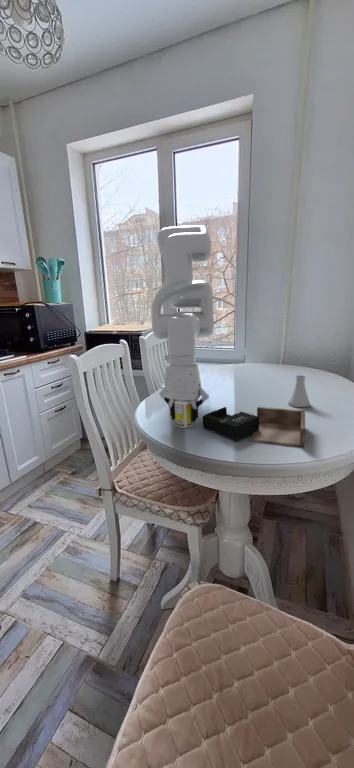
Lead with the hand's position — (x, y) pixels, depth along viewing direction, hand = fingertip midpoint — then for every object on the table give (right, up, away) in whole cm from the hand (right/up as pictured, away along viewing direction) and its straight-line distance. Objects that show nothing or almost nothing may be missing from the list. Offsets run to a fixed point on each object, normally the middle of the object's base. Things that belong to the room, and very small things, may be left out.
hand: (184, 418), depth 95 cm
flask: (+40, +3, +14) cm, 42 cm away
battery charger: (+13, -3, -4) cm, 14 cm away
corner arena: (+26, -3, -8) cm, 27 cm away
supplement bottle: (0, -2, +1) cm, 2 cm away
